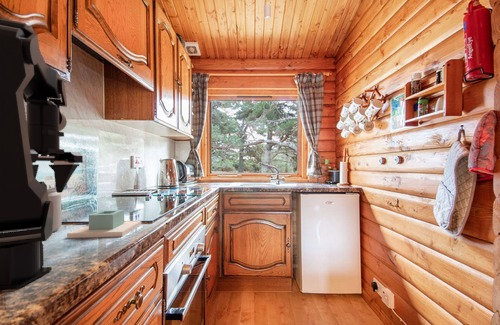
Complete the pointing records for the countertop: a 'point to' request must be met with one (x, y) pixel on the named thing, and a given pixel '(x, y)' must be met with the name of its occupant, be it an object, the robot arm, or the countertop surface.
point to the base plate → (104, 231)
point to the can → (55, 208)
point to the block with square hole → (106, 219)
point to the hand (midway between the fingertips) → (44, 194)
